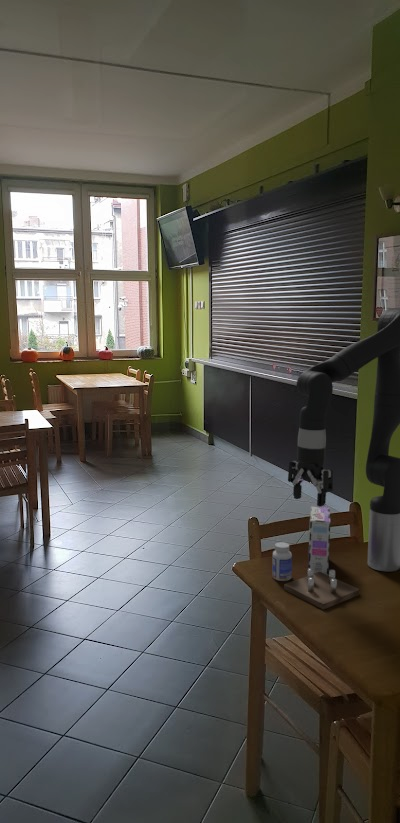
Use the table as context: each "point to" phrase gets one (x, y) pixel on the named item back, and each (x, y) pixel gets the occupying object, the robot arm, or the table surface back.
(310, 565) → the candy box
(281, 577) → the pill bottle
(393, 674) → the table surface
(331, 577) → the steel pegs
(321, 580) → the peg board
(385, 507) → the robot arm
